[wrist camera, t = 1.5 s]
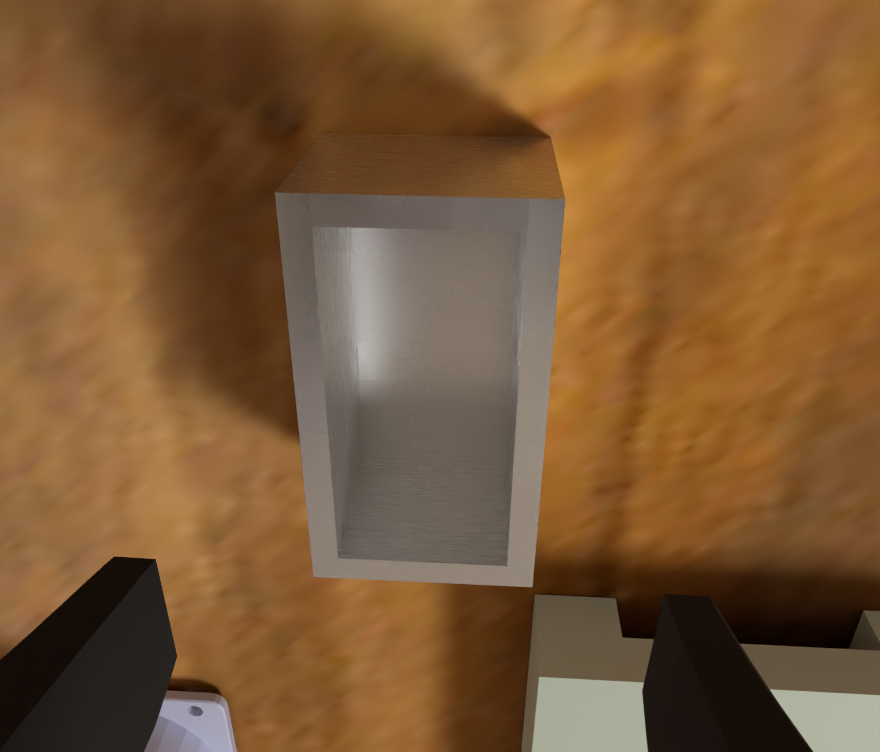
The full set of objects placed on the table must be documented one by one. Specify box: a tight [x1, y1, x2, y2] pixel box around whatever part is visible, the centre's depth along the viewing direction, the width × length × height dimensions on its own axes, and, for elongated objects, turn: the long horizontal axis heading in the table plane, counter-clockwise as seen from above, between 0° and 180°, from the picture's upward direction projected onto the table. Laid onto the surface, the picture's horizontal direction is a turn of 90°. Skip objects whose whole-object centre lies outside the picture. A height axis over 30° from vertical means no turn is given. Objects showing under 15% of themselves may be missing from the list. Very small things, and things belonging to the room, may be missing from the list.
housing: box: [275, 133, 565, 587], centre depth 18 cm, size 5×9×4 cm, turn 0°
